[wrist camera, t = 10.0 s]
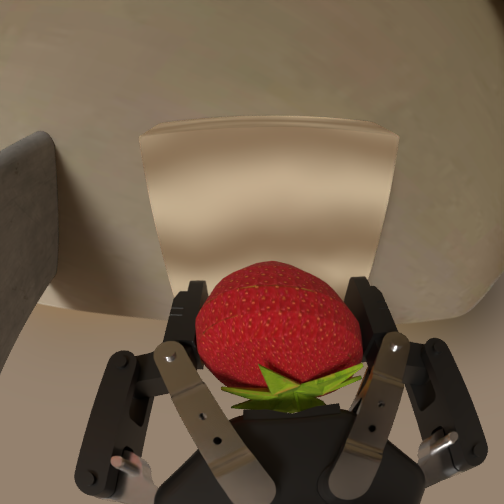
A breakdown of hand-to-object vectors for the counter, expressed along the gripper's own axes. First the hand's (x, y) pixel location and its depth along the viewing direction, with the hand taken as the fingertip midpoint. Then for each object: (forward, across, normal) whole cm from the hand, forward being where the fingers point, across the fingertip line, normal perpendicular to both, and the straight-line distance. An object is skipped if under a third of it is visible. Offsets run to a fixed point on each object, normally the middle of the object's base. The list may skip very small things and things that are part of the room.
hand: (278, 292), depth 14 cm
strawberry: (+3, 0, 0) cm, 3 cm away
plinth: (+8, 0, 0) cm, 8 cm away
